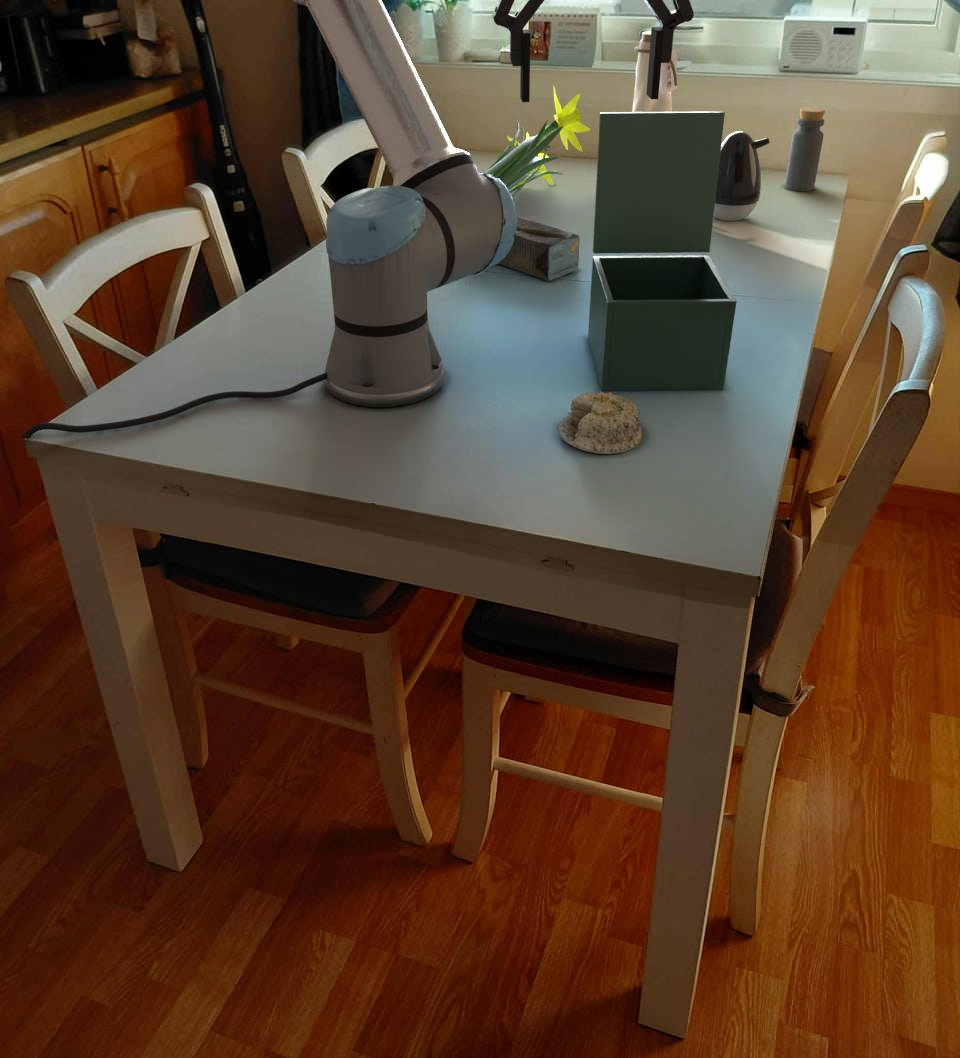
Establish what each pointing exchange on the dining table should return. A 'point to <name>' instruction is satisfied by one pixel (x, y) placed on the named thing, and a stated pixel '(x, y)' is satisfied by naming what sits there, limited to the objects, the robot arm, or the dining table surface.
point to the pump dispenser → (738, 177)
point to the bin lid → (656, 181)
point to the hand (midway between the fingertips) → (588, 98)
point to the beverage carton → (542, 250)
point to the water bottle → (666, 80)
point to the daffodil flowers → (537, 148)
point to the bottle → (805, 150)
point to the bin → (659, 323)
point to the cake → (602, 424)
